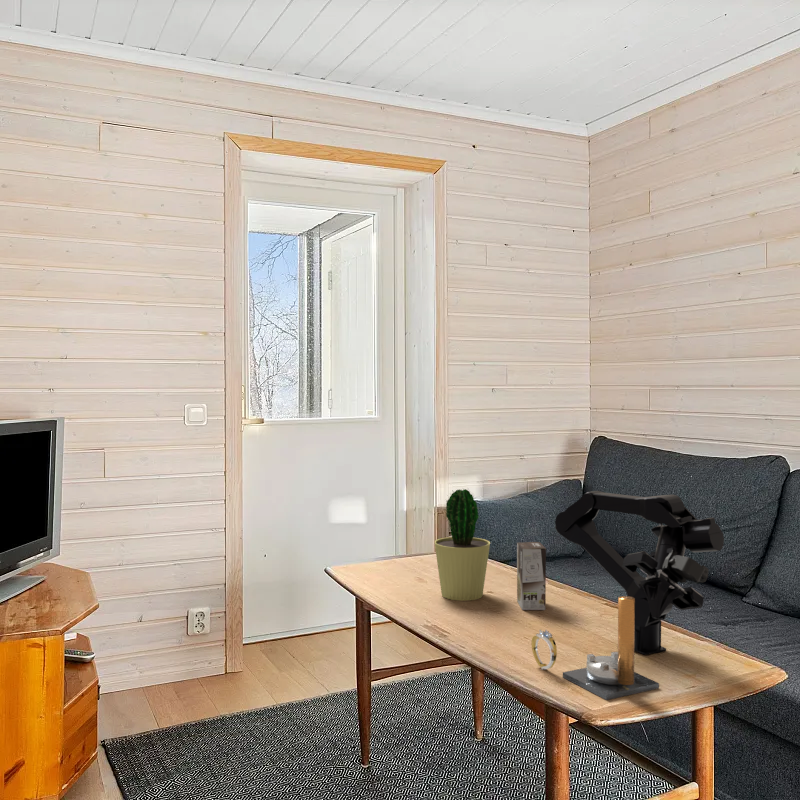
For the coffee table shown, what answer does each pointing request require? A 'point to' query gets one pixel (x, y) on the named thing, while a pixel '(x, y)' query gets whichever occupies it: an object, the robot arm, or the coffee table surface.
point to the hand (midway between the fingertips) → (655, 618)
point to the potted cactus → (462, 551)
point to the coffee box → (531, 575)
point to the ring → (552, 647)
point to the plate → (607, 689)
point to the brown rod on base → (621, 662)
